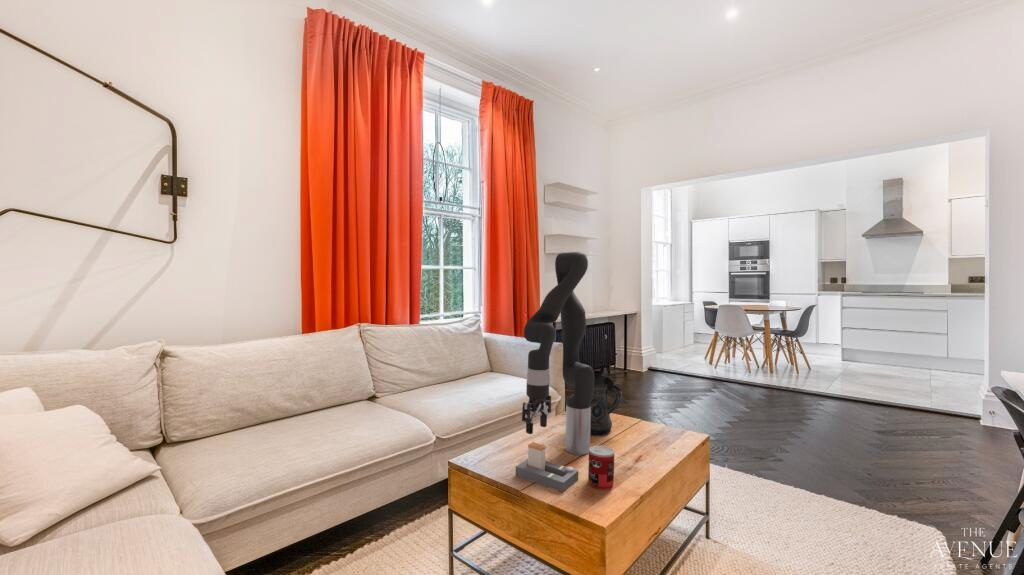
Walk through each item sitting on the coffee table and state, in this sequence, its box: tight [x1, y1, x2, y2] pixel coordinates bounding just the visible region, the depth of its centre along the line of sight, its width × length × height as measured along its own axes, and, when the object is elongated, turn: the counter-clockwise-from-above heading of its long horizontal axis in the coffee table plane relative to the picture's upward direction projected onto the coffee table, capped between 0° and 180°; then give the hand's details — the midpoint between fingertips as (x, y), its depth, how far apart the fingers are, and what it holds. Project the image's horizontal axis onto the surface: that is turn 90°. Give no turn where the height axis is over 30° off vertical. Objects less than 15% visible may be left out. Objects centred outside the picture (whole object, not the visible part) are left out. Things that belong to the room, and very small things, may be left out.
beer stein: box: [590, 370, 623, 437], centre depth 186 cm, size 16×19×25 cm
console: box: [515, 458, 579, 493], centre depth 142 cm, size 10×18×4 cm, turn 54°
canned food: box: [587, 445, 615, 490], centre depth 138 cm, size 8×8×11 cm
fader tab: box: [527, 441, 547, 471], centre depth 144 cm, size 3×5×10 cm, turn 54°
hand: (536, 429), depth 143 cm, fingers open, 8 cm apart
